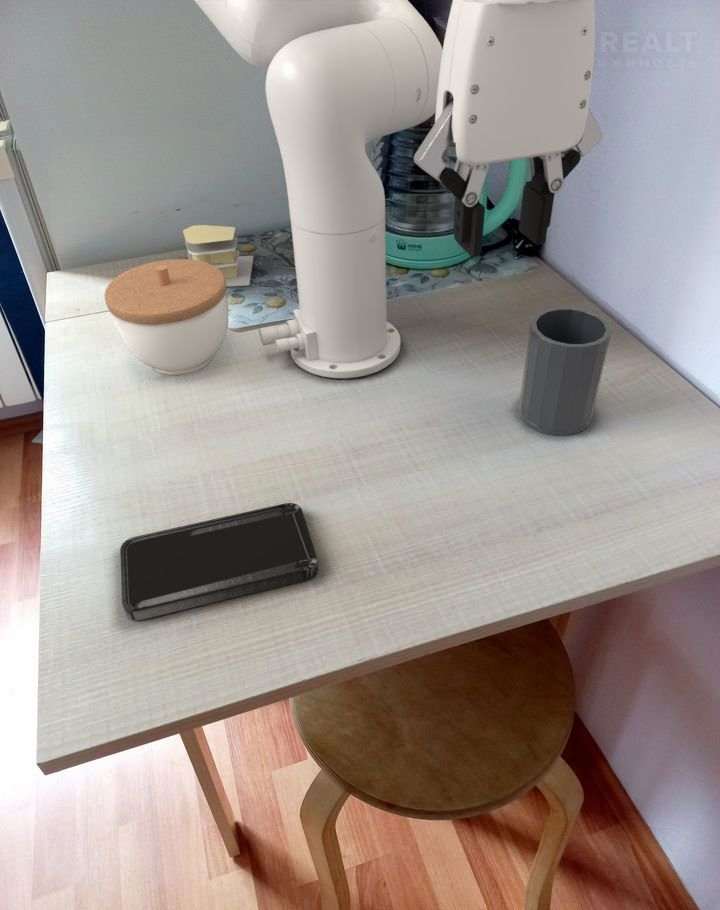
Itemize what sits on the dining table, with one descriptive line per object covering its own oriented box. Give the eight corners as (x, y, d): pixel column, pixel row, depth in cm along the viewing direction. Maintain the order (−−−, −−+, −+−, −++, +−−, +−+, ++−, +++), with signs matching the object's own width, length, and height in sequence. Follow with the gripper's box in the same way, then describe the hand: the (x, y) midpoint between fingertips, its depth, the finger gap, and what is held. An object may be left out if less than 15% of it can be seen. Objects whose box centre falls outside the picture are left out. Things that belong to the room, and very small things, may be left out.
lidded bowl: (119, 343, 83) (92, 255, 76) (223, 320, 87) (207, 233, 80) (134, 401, 74) (106, 307, 67) (250, 372, 78) (235, 280, 71)
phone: (319, 567, 55) (122, 614, 52) (320, 576, 56) (126, 623, 53) (298, 499, 61) (119, 538, 58) (299, 508, 61) (123, 547, 59)
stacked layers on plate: (253, 255, 100) (248, 218, 96) (249, 285, 93) (243, 246, 90) (182, 259, 100) (174, 222, 96) (173, 289, 93) (164, 250, 90)
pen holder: (540, 442, 67) (556, 353, 61) (506, 401, 72) (517, 315, 66) (605, 426, 69) (626, 337, 62) (567, 387, 74) (583, 301, 67)
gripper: (612, -49, 49) (570, 210, 61) (380, -29, 45) (383, 242, 57) (681, -37, 43) (620, 245, 55) (424, -13, 40) (418, 283, 52)
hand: (500, 241), depth 56 cm, fingers open, 4 cm apart
